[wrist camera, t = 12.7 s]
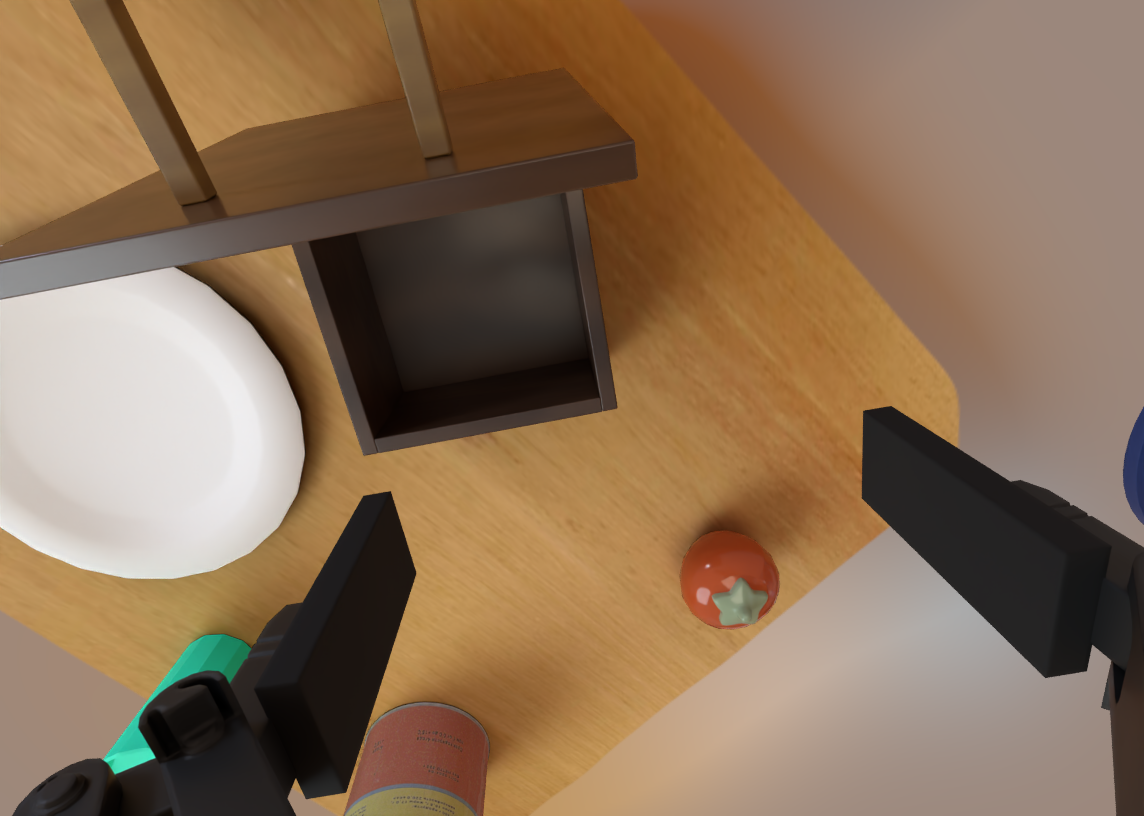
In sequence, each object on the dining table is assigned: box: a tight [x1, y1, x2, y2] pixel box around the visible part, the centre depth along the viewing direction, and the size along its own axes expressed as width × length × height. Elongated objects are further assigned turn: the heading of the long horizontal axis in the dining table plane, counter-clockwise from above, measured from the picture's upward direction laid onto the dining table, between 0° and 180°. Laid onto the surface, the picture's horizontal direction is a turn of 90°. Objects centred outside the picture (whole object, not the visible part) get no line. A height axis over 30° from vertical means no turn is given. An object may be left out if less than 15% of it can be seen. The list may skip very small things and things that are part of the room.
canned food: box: [344, 702, 490, 816], centre depth 48 cm, size 11×11×12 cm
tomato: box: [680, 530, 780, 629], centre depth 44 cm, size 7×7×8 cm
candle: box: [103, 634, 251, 774], centre depth 44 cm, size 6×6×12 cm
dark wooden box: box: [292, 189, 617, 456], centre depth 35 cm, size 17×15×9 cm
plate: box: [0, 245, 306, 579], centre depth 40 cm, size 25×25×2 cm
